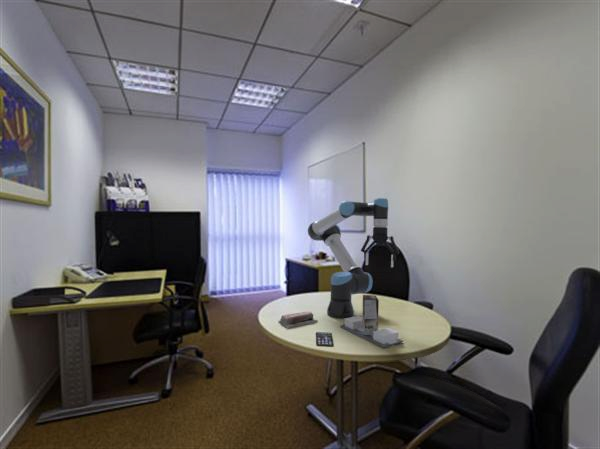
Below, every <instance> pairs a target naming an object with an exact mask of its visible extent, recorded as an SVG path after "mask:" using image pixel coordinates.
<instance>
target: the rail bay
mask: <svg viewBox="0 0 600 449" xmlns="http://www.w3.org/2000/svg"><path fill="white" fill-rule="evenodd" d="M339 327H340V328H341V329H344V330H345V331H347V332H349V333H351V334H354V335H356V336H358V337H359V338H361V339H364V340H365V341H368V342H370V343H371V344H373V345H376V346H377V347H380V348H382V349H387V348H390V346H391V347H394V346H393V345H395V346H397V345H396V344H398V345H400V344H399V343H401V344H403V343H404V340H403V339H400V338H399V331H396V330H394V329H391V328H389V327H385V328H380V329H378V330H376V331H373V335H364V333H363V330H362V316H359V315H356V316H355V315H354V316H353V317H350V318H345V319H344V324H340V326H339ZM402 342H403V343H402Z"/></svg>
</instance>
